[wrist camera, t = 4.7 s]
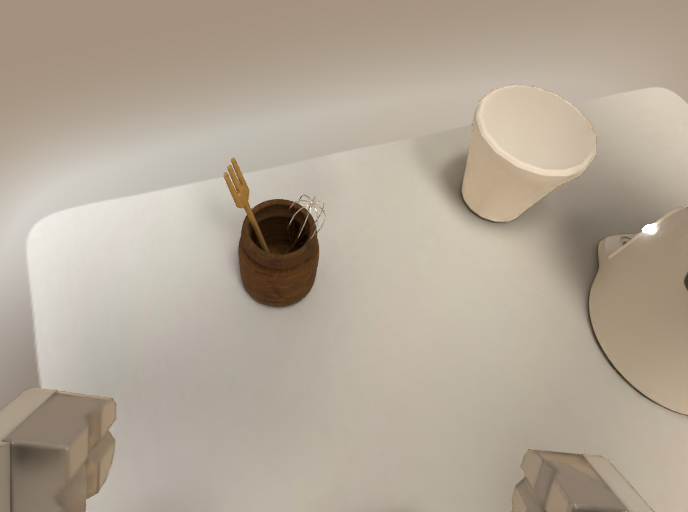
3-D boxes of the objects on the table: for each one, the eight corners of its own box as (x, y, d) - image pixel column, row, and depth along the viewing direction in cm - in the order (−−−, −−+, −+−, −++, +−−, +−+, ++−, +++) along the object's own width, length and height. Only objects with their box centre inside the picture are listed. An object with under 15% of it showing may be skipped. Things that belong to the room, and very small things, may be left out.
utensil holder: (303, 318, 37) (316, 234, 26) (225, 296, 37) (208, 203, 26) (324, 256, 40) (342, 159, 29) (252, 235, 40) (245, 131, 30)
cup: (560, 232, 44) (622, 166, 36) (464, 249, 42) (509, 183, 34) (514, 152, 49) (561, 79, 41) (426, 164, 47) (457, 88, 39)
